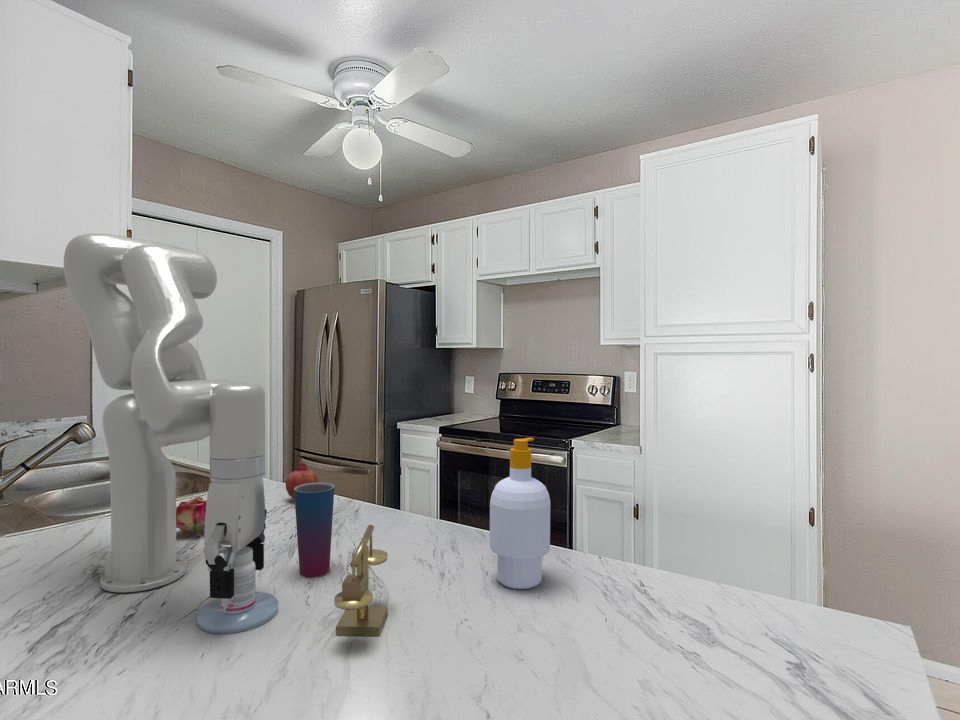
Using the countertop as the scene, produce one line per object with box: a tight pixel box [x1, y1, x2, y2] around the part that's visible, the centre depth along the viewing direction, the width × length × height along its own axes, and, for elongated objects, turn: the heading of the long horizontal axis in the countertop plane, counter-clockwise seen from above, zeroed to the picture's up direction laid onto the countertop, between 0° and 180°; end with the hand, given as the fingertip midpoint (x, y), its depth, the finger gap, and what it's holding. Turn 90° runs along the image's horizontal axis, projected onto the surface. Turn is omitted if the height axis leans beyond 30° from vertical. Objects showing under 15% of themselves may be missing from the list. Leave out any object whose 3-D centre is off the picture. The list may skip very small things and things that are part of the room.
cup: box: [294, 482, 335, 579], centre depth 98 cm, size 7×7×15 cm
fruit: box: [285, 461, 319, 500], centre depth 143 cm, size 8×8×10 cm
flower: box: [176, 496, 207, 539], centre depth 117 cm, size 10×9×8 cm
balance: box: [333, 524, 389, 637], centre depth 80 cm, size 6×15×13 cm, turn 178°
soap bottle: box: [489, 437, 551, 590], centre depth 95 cm, size 10×10×24 cm
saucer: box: [196, 591, 279, 635], centre depth 82 cm, size 11×11×1 cm
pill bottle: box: [221, 547, 256, 614], centre depth 82 cm, size 5×5×8 cm
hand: (238, 582), depth 82 cm, fingers open, 9 cm apart
